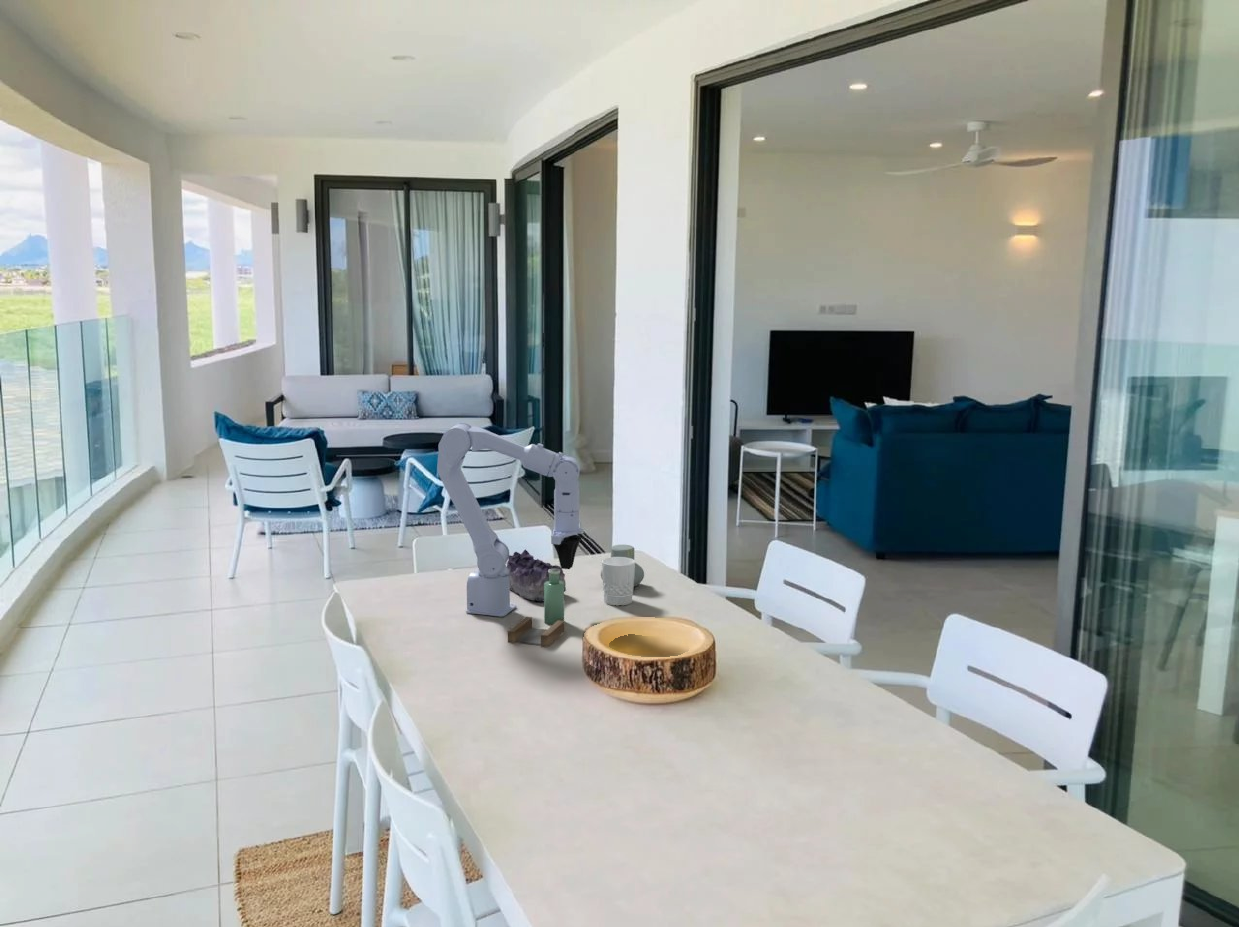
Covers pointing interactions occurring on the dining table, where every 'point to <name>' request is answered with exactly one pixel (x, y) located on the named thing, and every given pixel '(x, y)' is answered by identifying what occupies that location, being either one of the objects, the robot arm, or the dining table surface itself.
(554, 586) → the bottle
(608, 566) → the white cup
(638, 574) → the air freshener
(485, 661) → the dining table surface
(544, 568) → the geode
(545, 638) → the cradle
